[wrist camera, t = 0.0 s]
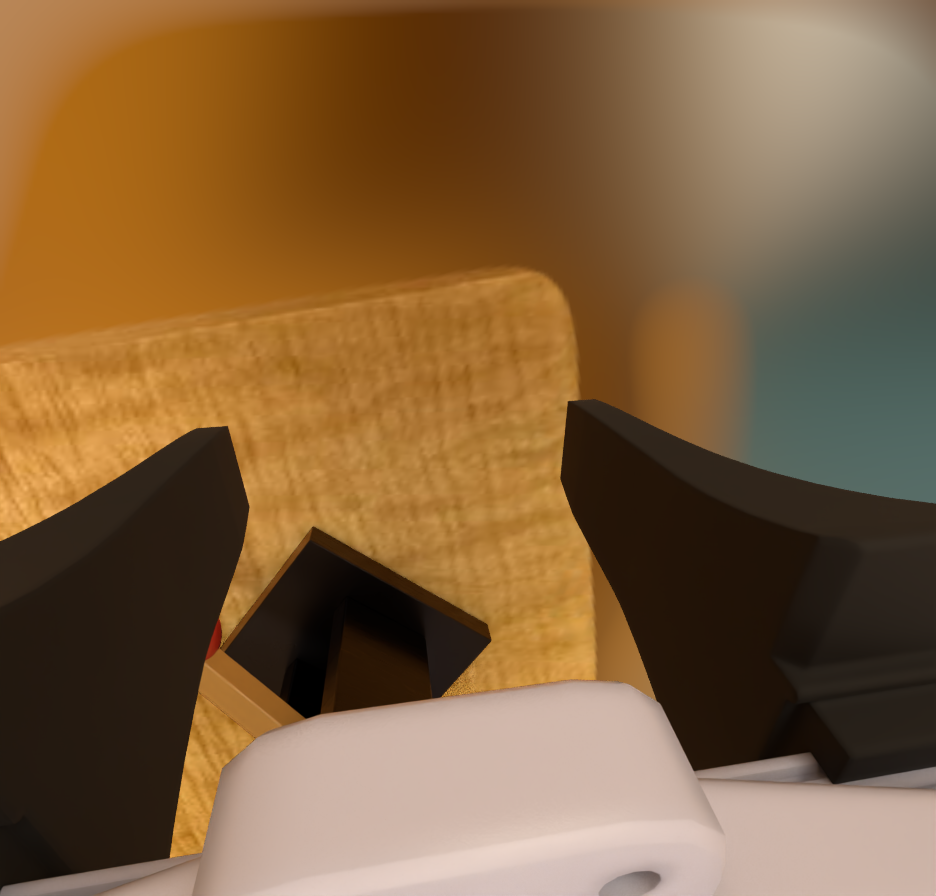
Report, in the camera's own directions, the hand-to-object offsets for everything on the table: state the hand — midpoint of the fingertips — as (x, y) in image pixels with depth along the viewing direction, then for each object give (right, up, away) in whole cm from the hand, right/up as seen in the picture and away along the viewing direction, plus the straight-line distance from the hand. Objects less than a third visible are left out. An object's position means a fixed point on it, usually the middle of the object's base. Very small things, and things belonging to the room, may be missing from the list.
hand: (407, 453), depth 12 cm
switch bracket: (-4, -9, +14) cm, 17 cm away
